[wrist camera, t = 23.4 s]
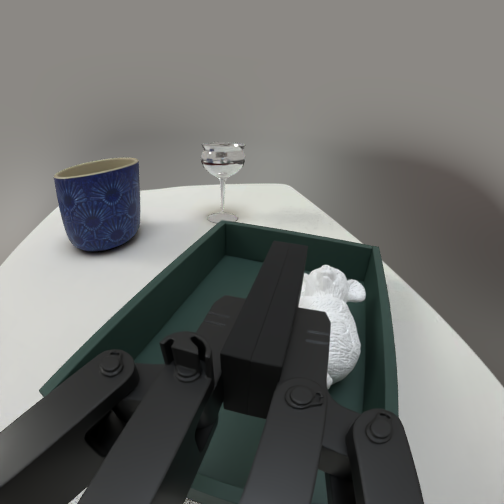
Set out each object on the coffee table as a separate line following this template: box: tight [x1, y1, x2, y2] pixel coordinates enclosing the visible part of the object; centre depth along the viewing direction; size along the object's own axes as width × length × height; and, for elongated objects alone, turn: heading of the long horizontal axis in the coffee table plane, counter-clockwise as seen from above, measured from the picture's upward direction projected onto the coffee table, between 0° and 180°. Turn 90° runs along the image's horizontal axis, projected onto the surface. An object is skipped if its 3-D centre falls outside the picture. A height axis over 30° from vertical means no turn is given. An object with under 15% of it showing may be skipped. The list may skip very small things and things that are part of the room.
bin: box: [39, 220, 398, 504], centre depth 20 cm, size 18×26×5 cm
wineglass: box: [201, 142, 245, 223], centre depth 43 cm, size 7×7×12 cm
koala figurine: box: [298, 265, 366, 389], centre depth 19 cm, size 8×7×12 cm
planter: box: [54, 158, 140, 251], centre depth 34 cm, size 12×12×11 cm
